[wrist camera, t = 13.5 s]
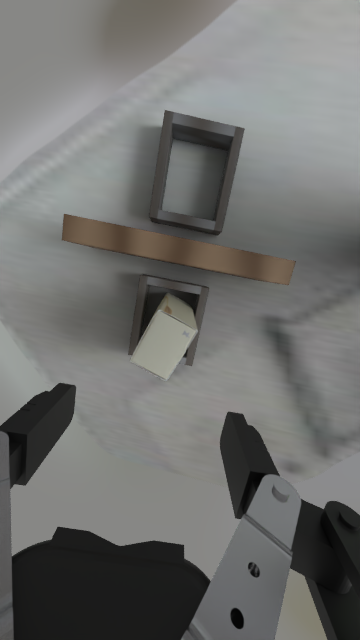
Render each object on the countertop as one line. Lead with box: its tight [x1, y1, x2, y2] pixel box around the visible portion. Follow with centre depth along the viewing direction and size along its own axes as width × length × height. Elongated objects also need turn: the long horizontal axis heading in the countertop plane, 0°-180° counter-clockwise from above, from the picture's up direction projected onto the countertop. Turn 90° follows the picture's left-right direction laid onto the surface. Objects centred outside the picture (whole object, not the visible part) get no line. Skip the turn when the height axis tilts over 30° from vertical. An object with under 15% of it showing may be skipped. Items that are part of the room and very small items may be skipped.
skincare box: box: [130, 292, 198, 381], centre depth 27 cm, size 6×4×12 cm
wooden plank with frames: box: [62, 110, 296, 366], centre depth 27 cm, size 24×29×8 cm
